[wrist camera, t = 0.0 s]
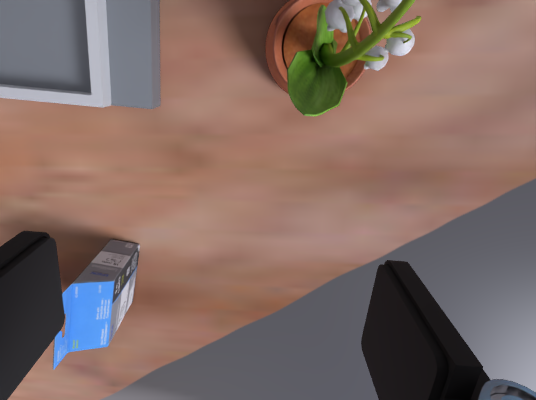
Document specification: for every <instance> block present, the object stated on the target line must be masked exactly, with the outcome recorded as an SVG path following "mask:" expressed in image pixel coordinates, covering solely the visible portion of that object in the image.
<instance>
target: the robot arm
mask: <svg viewBox="0 0 536 400" xmlns="http://www.w3.org/2000/svg"><path fill="white" fill-rule="evenodd" d="M64 319H65V314H64V306H63V297H62V289H61V281H60V273H59V265H58V256H57V248H56V242H55V240H54V239H53V238H50V236H49V234H48V233H45V232H33V231H23V232H21V233H19V234H18V235H16V236H15V237H14V238H12V239H11V240H9V241H8V242H6V243H5V244H4V245H2V246H1V247H0V400H7V399H8V398H9V397H10V395H11V394H12V393H13V391H14V390H15V389H16V388H17V386H18V385H19V384H20V382H21V381H22V380H23V378H24V377H25V376H26V374H27V373H28V372H29V371H30V369H31V368H32V367H33V365H34V364H35V363H36V361H37V360H38V359H39V358H40V356H41V355H42V354H43V352H44V351H45V350H46V348H47V347H48V346H49V344H50V343H51V342H52V341H53V339H54V338H55V337H56V335H57V334H58V333H59V331H60V330H61V328H62V326H63V324H64ZM361 344H362V351H363V354H364V357H365V360H366V363H367V366H368V369H369V372H370V375H371V378H372V381H373V384H374V386H375V389H376V392H377V395H378V398H379V400H536V392H534V391H532V390H530V389H529V388H527V387H525V386H522V385H520V384H518V383H515V382H512V381H508V380H503V379H494V380H490V379H489V377H488V376H487V374H486V373H485V372H484V370H483V369H482V368H483V366H482V365H481V363H480V362H479V361H478V359H477V358H476V356H475V355H474V354H473V352H472V351H471V349H470V348H469V347H468V345H467V344H466V342H465V341H464V340H463V339H462V337H461V336H460V334H459V333H458V331H457V330H456V329H455V327H454V326H453V324H452V323H451V322H450V320H449V319H448V317H447V316H446V315H445V313H444V312H443V310H442V309H441V308H440V306H439V305H438V303H437V302H436V301H435V299H434V298H433V297H432V295H431V294H430V292H429V291H428V290H427V288H426V287H425V285H424V284H423V283H422V281H421V280H420V278H419V277H418V276H417V275H416V273H415V271H414V270H413V269H412V268H411V266H410V264H409V263H408V262H404V261H391V260H387V261H386V262H385V264H384V265H379V267H378V270H377V274H376V278H375V283H374V287H373V291H372V296H371V300H370V304H369V309H368V313H367V318H366V322H365V326H364V331H363V335H362V341H361Z"/></svg>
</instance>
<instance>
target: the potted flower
mask: <svg viewBox="0 0 536 400" xmlns="http://www.w3.org/2000/svg"><path fill="white" fill-rule="evenodd" d="M414 1H415V0H379V1H378V3H377V11H379V12H383V11H385V10H386V9H388V8H390V7H391V8H390V10H391V12H392V13H391V14H390V15H389V16H388V18H387V19H386V20H385V21H384V22H383V23H382V24H380V22H379V21H378V18H377V16H376V14H375V12H374V10H373V8H372V6H371V5H372V4H371V0H290V1H288V2H287V3H286V4H285V5H284V6H283V7H282V8H281V9H280V10H279V11H278V13H277V14H276V15H275V17H274V19H273V20H272V22H271V24H270V27H269V30H268V33H267V38H266V48H265V52H266V60H267V64H268V68H269V70H270V72H271V75H272V76H273V78H274V80H275V81H276V83H277V84H278V85H279V86H280V87H281V88H282V89H283V90H284V91H285V92H287V93H288V94H289V96H290V98H291V100H292V102H293V104H294V105H295V107H296V108H297V109H298V110H299V111H300V112H301V113H302V114H303V115H305V116H318V115H321V114H323V113H325V112H326V111H329V110H331V109H333V108H335V107H337V106H339V104H340V102H341V99H342V96H343V94H344V92H345V91H346V90H348V89H349V88H351V87H352V86H353V85H354V84H355V83H356V82H357V81H358V80H359V78H360V77H361V76H362V74H363V73H364V71H365V69H369V68H370V69H374V70H376V71H379V69H381V68H383V67H384V66H385V65H386V63H387V61H388V53H387V52H390V53H391V54H392V55H397V56H402V55H405V54H407V53H408V52H409V51H410V50H411V48H412V47H413V45H414V42H415V37H414V35H413V33H412V32H411V30H410V29H409V28H411V27H413V26H414V25H416V24H417V23H418V22H420V20H421V16H417V17H416V18H415V19H413V20H411V21H408V22H406V23H402V24H400V25H397V26H394V25H395V24H396V23H397V22H398V21H399V20H400V18H401V17H402V16H403V15H404V14H405V13H406V11H407V10H408V9H409V8H410V7H411V5H412V4H413V3H414ZM367 15H368V17H369V20H370V23H371V27H372V31H373V32H372V33H371V28H370V25H369V22H368V19H367ZM393 26H394V27H393ZM382 38H384V39H387V44H386V45H385V48H383V47H380V46H375V45H376V44H377V43H378V42H379V41H380V40H381V39H382ZM403 41H404V42H403ZM404 43H405V44H404ZM373 46H375V47H373ZM372 47H373V48H372Z"/></svg>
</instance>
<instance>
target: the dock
mask: <svg viewBox="0 0 536 400" xmlns="http://www.w3.org/2000/svg"><path fill="white" fill-rule="evenodd" d="M0 98H9V99H20V100H30V101H41V102H51V103H62V104H72V105H83V106H93V107H107V106H110V105H115V106H126V107H136V108H147V109H154V108H156V107H159V106H160V0H0Z"/></svg>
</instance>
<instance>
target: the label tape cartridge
mask: <svg viewBox="0 0 536 400" xmlns="http://www.w3.org/2000/svg"><path fill="white" fill-rule="evenodd" d="M139 248H140V245H139V244H136V243H131V242H125V241H119V240H114V239H111V240H110V241H109V242H108V243H107V245H106V246H105V247H104V248H103V249H102V250H101V251H100V253H99V254H98V255H97V256H96V257H95V258H94V259H93V260H92V262H91V263H90V264H89V265H88V266H87V267H86V268H85V270H84V271H83V272H82V273H81V274H80V275H79V276H78V277H77V279H76V280H75V281H74V282H73V283H72V284H71V285H70V286H69V287H68V288H67V289H66V290H65V291H64V292H63V293H62V297H63V306H64V314H66V323H65V335H64V337H63V338H62V331H59V333H58V334H57V335H56V337H55V338H54V355H53V370H54V369H55V368H56V366H57V365H58V364H59V363H60V361H61V360H62V359H63V358H64V356H65V355H66V354H67V353H68V352H73V351H80V350H87V349H95V348H102V347H107V346H109V344H110V342H111V340H112V338H113V336H114V334H115V332H116V331H117V329H118V327H119V325H120V323H121V321H122V319H123V317H124V315H125V314H126V312H127V310H128V308H129V307H130V305H131V303H132V302H133V295H134V287H135V279H136V272H137V265H138V257H139Z"/></svg>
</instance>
